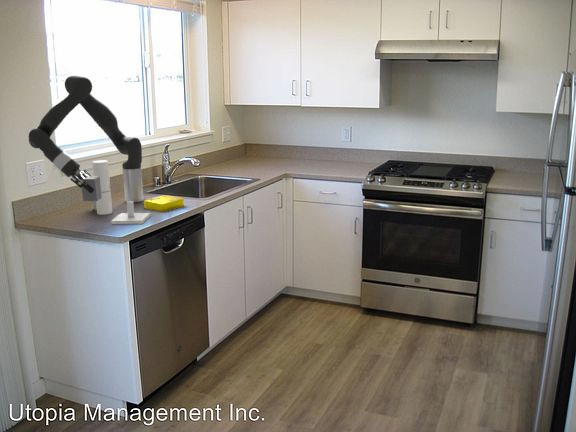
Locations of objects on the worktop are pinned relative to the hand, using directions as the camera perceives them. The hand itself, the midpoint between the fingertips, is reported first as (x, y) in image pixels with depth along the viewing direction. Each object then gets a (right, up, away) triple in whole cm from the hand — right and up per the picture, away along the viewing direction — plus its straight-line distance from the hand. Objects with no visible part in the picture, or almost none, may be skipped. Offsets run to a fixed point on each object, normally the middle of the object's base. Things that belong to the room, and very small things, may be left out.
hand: (95, 190), depth 268 cm
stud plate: (+15, -13, +6) cm, 21 cm away
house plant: (-9, -8, +29) cm, 31 cm away
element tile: (+25, -8, +30) cm, 40 cm away
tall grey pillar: (-2, -4, +1) cm, 5 cm away
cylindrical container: (-2, -10, +20) cm, 23 cm away
